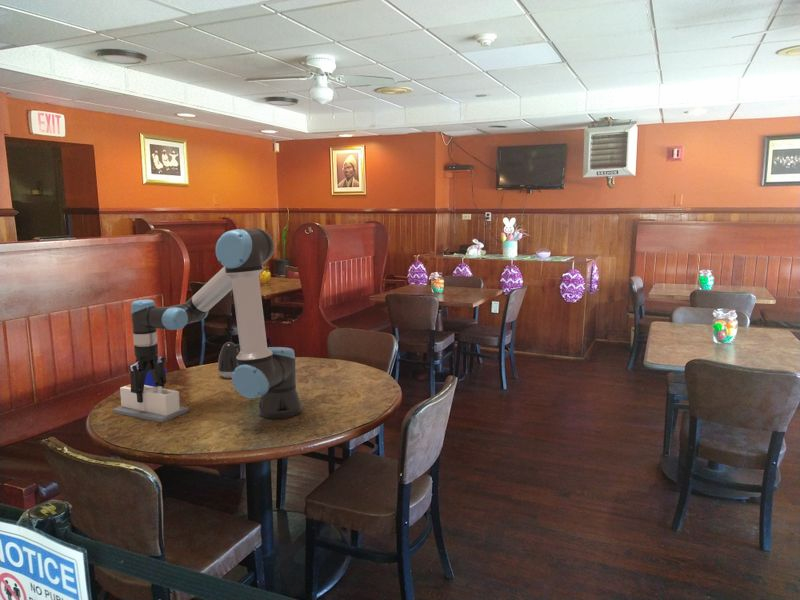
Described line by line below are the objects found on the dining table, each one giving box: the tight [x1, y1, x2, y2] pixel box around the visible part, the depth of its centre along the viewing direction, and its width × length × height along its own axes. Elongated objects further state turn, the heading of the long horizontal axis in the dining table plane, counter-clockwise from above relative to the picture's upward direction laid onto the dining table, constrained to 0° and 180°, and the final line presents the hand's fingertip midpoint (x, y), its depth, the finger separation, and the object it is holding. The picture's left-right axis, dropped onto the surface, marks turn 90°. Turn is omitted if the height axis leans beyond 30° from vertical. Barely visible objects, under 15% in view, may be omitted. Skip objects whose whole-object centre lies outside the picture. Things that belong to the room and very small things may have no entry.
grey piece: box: [112, 386, 190, 423], centre depth 202 cm, size 24×12×10 cm, turn 65°
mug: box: [143, 363, 167, 387], centre depth 228 cm, size 8×12×10 cm
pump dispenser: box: [217, 341, 240, 379], centre depth 245 cm, size 10×10×15 cm
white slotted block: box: [119, 383, 181, 416], centre depth 202 cm, size 22×6×7 cm, turn 65°
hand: (150, 407), depth 203 cm, fingers closed on white slotted block, 6 cm apart
